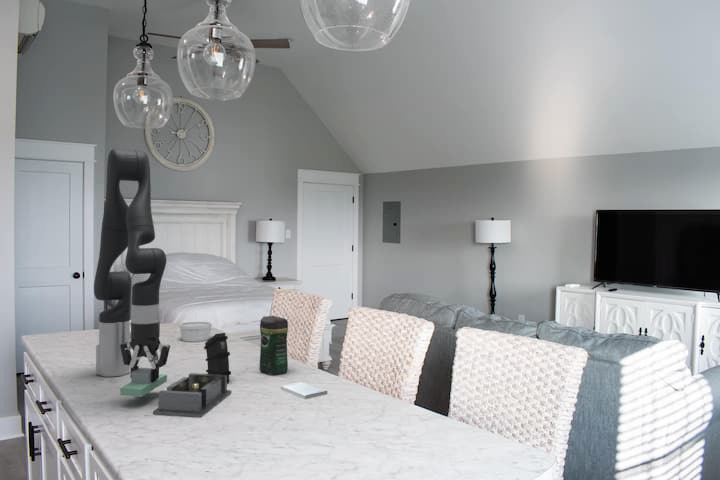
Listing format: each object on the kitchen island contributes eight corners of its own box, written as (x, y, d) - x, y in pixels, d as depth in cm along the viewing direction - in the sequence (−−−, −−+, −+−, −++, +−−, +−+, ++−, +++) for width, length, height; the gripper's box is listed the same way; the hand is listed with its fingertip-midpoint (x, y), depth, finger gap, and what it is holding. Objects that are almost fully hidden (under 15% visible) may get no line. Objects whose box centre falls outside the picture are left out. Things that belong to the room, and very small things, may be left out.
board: (141, 396, 147) (141, 378, 147) (120, 395, 148) (120, 376, 148) (166, 381, 161) (167, 364, 161) (147, 380, 162) (147, 363, 162)
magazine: (223, 381, 167) (215, 333, 172) (208, 390, 177) (201, 345, 182) (235, 379, 170) (226, 332, 175) (219, 388, 179) (212, 343, 184)
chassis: (200, 417, 141) (201, 395, 141) (152, 414, 143) (152, 392, 143) (231, 393, 162) (231, 374, 162) (189, 390, 163) (189, 372, 163)
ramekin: (187, 336, 245) (188, 320, 245) (216, 337, 243) (216, 321, 243) (173, 342, 232) (173, 325, 232) (203, 343, 230) (204, 326, 230)
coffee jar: (291, 372, 185) (292, 317, 185) (271, 376, 180) (272, 319, 180) (275, 367, 192) (275, 313, 192) (255, 370, 187) (256, 315, 187)
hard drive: (327, 390, 162) (303, 380, 172) (304, 395, 157) (280, 385, 166) (327, 396, 162) (302, 386, 172) (304, 401, 157) (280, 390, 166)
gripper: (113, 321, 151) (112, 383, 152) (163, 324, 149) (162, 386, 150) (128, 316, 158) (128, 375, 159) (176, 319, 157) (175, 378, 157)
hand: (144, 380), depth 154 cm, fingers closed on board, 5 cm apart
